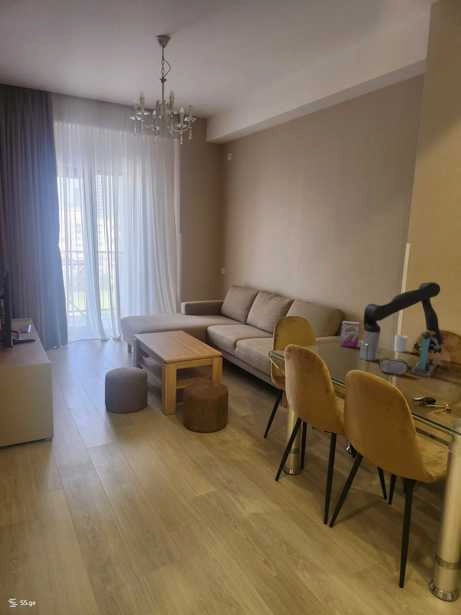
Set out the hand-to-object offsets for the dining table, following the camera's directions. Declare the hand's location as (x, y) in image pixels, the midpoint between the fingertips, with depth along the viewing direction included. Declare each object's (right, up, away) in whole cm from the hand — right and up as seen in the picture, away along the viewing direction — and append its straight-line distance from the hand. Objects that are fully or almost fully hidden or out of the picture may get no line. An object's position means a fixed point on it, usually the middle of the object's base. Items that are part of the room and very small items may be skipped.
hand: (426, 350), depth 239 cm
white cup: (+2, -5, +43) cm, 44 cm away
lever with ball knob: (-3, -11, -2) cm, 11 cm away
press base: (+2, -11, +6) cm, 13 cm away
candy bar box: (-31, -2, +47) cm, 56 cm away
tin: (-21, -12, -7) cm, 26 cm away
